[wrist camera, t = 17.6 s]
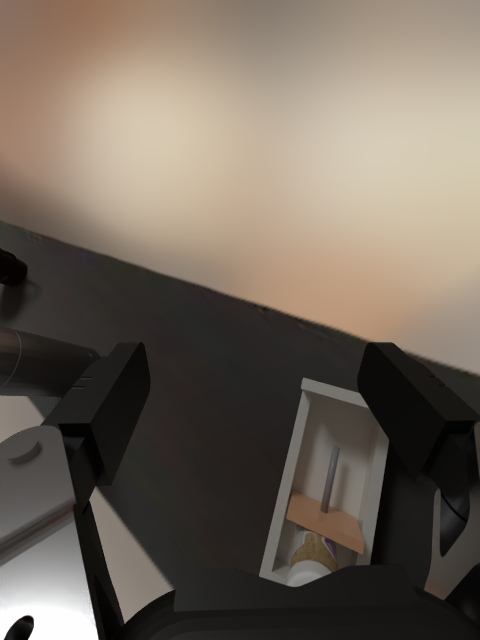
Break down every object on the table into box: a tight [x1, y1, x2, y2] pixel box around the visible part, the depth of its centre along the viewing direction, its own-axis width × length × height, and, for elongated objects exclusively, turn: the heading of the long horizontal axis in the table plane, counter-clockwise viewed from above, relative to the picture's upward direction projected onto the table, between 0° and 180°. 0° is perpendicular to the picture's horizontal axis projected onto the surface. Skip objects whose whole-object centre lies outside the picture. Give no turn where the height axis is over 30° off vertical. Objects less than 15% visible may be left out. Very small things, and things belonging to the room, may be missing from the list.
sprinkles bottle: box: [285, 523, 338, 587], centre depth 25 cm, size 5×5×13 cm
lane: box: [259, 378, 389, 585], centre depth 29 cm, size 22×10×9 cm, turn 163°
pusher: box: [286, 445, 364, 555], centre depth 29 cm, size 8×7×6 cm
